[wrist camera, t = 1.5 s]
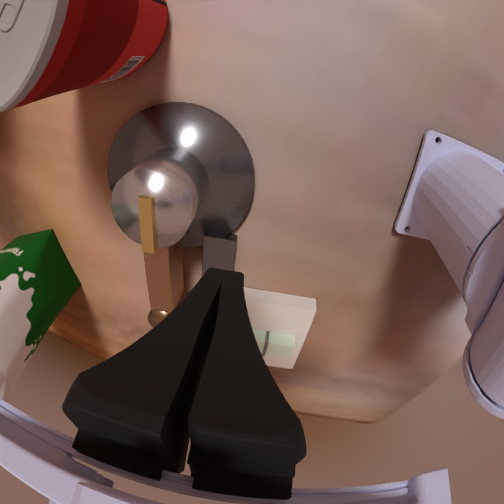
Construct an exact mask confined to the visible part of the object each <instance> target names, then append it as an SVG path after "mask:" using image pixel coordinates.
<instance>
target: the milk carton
mask: <svg viewBox="0 0 504 504" xmlns="http://www.w3.org/2000/svg"><path fill="white" fill-rule="evenodd" d="M80 286H81V284H80V282H79V280H78V279H77V277H76V275H75V273H74V271H73V270H72V268H71V266H70V264H69V262H68V260H67V258H66V256H65V254H64V252H63V250H62V248H61V246H60V244H59V242H58V240H57V238H56V236H55V234H54V232H53V230H52V229H50V230H46V231H41V232H37V233H32V234H28V235H23V236H19V237H17V238H16V239H14V240H13V241H12V242H11V243H9V244H8V245H7V246H6V247H4V248H3V249H2V250H1V251H0V398H1V399H3V400H4V401H6V402H7V403H8V401H9V398H10V395H11V392H12V389H13V387H14V385H15V383H16V381H17V380H18V378H19V376H20V374H21V373H22V371H23V369H24V367H25V366H26V364H27V362H28V361H29V359H30V357H31V356H32V354H33V352H34V351H35V349H36V347H37V346H38V344H39V343H40V341H41V339H42V338H43V336H44V335H45V333H46V332H47V330H48V329H49V327H50V326H51V324H52V323H53V321H54V320H55V318H56V317H57V316H58V314H59V313H60V312H61V310H62V309H63V308H64V306H65V305H66V304H67V302H68V301H69V300H70V298H71V297H72V296H73V294H74V293H75V292H76V291H77V289H78V288H79V287H80Z"/></svg>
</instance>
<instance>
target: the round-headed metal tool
mask: <svg viewBox="0 0 504 504" xmlns="http://www.w3.org/2000/svg"><path fill="white" fill-rule="evenodd" d="M208 189H209V180H208V175H207V172H206V170H205V168H204V166H203V164H202V163H201V162H200V161H199V159H198V158H197V157H195V156H194V155H193V154H191V153H190V152H188V151H186V150H183V149H180V148H171V147H170V148H164V149H160V150H158V151H156V152H155V153H153V154H152V155H150V156H149V157H148V158H146V159H145V160H144V161H142V162H141V163H140V164H138V165H137V166H136V167H134V168H133V169H132V170H130V171H129V172H128V173H127V174H125V175H124V176H123V177H122V178H121V179H120V180H119V181H118V182H117V183H116V185H115V187H114V189H113V192H112V196H111V207H112V212H113V216H114V218H115V220H116V222H117V224H118V226H119V227H120V228H121V230H122V231H123V232H124V233H125V234H126V235H127V236H128V237H129V238H131V239H132V240H134V241H135V242H137V243H139V244H141V245H142V251H143V252H144V261H145V270H146V277H147V285H148V292H149V299H150V306H151V311H150V313H149V315H148V321H149V323H150V325H151V326H152V327H153V328H154V327H155V326H156V325H158V324H159V323H160V322H161V321H162V320H163V319H164V318H165V317H166V316H167V315H168V314H169V313H170V312H171V311H172V310H173V309H174V308H175V307H176V306H178V305H179V303H180V302H181V301H182V300H183V299H184V298H185V297H186V296H187V295H188V294H187V293H186V291H185V290H184V283H183V236H184V235H185V233H186V231H187V229H188V228H189V226H190V224H191V222H192V221H193V219H194V217H195V216H196V214H197V212H198V210H199V209H200V207H201V205H202V204H203V202H204V200H205V199H206V196H207V193H208Z"/></svg>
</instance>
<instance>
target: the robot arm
mask: <svg viewBox="0 0 504 504" xmlns="http://www.w3.org/2000/svg"><path fill="white" fill-rule="evenodd" d="M437 137H439V141H438V142H437V143H436V142H435V139H436V138H437ZM503 170H504V163H503V162H501V161H500V160H498V159H496V158H494V157H492V156H490V155H488V154H486V153H484V152H482V151H480V150H477V149H475V148H473V147H471V146H469V145H467V144H464V143H462V142H460V141H458V140H455V139H453V138H450V137H448V136H446V135H443V134H441V133H438V132H436V131H433V130H428V131H427V132H426V133H425V135H424V138H423V142H422V145H421V149H420V152H419V155H418V159H417V162H416V165H415V168H414V171H413V174H412V178H411V181H410V184H409V186H408V189H407V192H406V195H405V198H404V201H403V204H402V206H401V209H400V212H399V214H398V217H397V220H396V222H395V226H394V227H395V230H396V231H397V233H400V234H404V235H409V236H413V237H417V238H422V239H426V240H430V241H431V243H432V244H433V246H434V248H435V249H436V251H437V253H438V254H439V256H440V258H441V259H442V261H443V263H444V264H445V266H446V268H447V270H448V271H449V273H450V275H451V277H452V279H453V280H454V282H455V284H456V286H457V288H458V290H459V292H460V293H461V295H462V297H463V299H464V301H465V303H466V305H467V315H466V318H465V321H466V324H467V326H468V328H469V330H470V333H471V335H472V336H471V338H470V339H469V341H468V343H467V345H466V347H465V350H464V354H463V362H462V364H463V373H464V378H465V381H466V384H467V386H468V388H469V390H470V392H471V394H472V396H473V397H474V398H475V400H476V401H477V402H478V403H479V404H480V406H481V407H482V408H484V409H485V410H486V411H488V412H489V413H490V414H492V415H494V416H496V417H499V418H502V419H504V172H503ZM407 226H409V228H408V229H406V230H404V229H405V227H407ZM62 409H63V411H64V413H65V414H66V416H67V417H68V418H69V419H70V420H71V421H72V422H73V423H74V424H75V425H76V427H77V428H78V432H77V434H76V437H75V439H74V438H72V437H70V436H68V435H66V434H63V433H61V432H59V431H57V430H55V429H53V428H51V427H49V426H47V425H45V424H43V423H42V422H40V421H38V420H36V419H34V418H32V417H31V416H29V415H27V414H25V413H23V412H22V411H20V410H19V409H17V408H15V407H13V406H12V405H10V404H9V403H7V402H6V401H4V400H3V399H1V398H0V465H1V466H3V467H4V468H5V469H6V470H8V471H9V472H10V473H12V474H13V475H14V476H16V477H17V478H18V479H20V480H21V481H23V482H24V483H26V484H27V485H29V486H30V487H32V488H33V489H35V490H36V491H38V492H39V493H41V494H43V495H44V496H46V497H47V498H49V499H50V500H49V504H162V503H158V502H155V501H151V500H148V499H144V498H141V497H138V496H134V495H131V494H128V493H125V492H122V491H119V490H117V489H114V488H112V487H113V484H114V483H113V482H112V481H111V480H109V479H107V478H105V477H103V476H102V475H100V474H98V473H97V472H96V471H95V470H93V469H91V468H89V467H87V466H85V465H83V464H81V463H79V462H77V461H75V460H74V459H73V458H72V457H74V458H76V459H79V460H80V461H83V462H85V463H87V464H90V465H92V466H95V467H97V468H99V469H102V470H105V471H107V472H110V473H112V474H115V475H118V476H121V477H124V478H127V479H130V480H133V481H136V482H139V483H142V484H146V485H149V486H153V487H156V488H160V489H164V490H168V491H171V492H176V493H180V494H184V495H189V496H195V497H200V498H205V499H210V500H216V501H223V502H230V503H238V504H239V503H240V504H451V494H450V486H449V478H448V470H447V468H443V469H439V470H435V471H430V472H425V473H422V474H419V475H416V476H414V477H412V478H410V479H409V480H405V481H399V482H392V483H386V484H379V485H369V486H360V487H346V488H321V489H297V488H292V478H293V477H294V476H295V465H296V464H297V463H298V462H300V461H301V460H302V459H303V458H304V457H305V456H306V442H305V436H304V432H303V428H302V424H301V421H300V419H299V418H298V417H297V415H296V414H295V412H294V411H293V410H292V408H291V407H290V405H289V404H288V402H287V401H286V399H285V398H284V396H283V394H282V393H281V391H280V390H279V388H278V386H277V384H276V383H275V381H274V379H273V377H272V375H271V373H270V371H269V369H268V367H267V365H266V363H265V361H264V359H263V356H262V354H261V352H260V349H259V347H258V344H257V341H256V339H255V336H254V333H253V329H252V326H251V323H250V319H249V315H248V311H247V306H246V301H245V294H244V275H243V274H242V273H241V272H235V271H229V270H223V269H218V268H212V267H210V268H208V269H207V270H206V272H205V273H204V275H203V276H202V277H201V279H200V280H199V281H198V283H197V284H196V285H195V286H194V288H193V289H192V290H191V291H190V292H189V293H188V295H187V296H186V297H185V298H184V299H183V300H182V301H181V302H180V303H179V305H178V306H176V307H175V308H174V309H173V310H172V311H171V312H170V313H169V314H168V315H167V316H166V317H165V318H164V319H163V320H162V321H161V322H160V323H159V324H158V325H156V326H155V327H154V328H153V329H152V330H150V331H149V332H148V333H147V334H145V335H144V336H143V337H141V338H140V339H139V340H137V341H136V342H134V343H133V344H132V345H130V346H129V347H127V348H126V349H124V350H122V351H121V352H119V353H117V354H116V355H114V356H112V357H111V358H109V359H107V360H106V361H104V362H102V363H100V364H98V365H96V366H94V367H92V368H90V369H87V370H85V371H83V372H81V373H79V375H78V377H77V378H76V380H75V381H74V383H73V384H72V386H71V388H70V390H69V392H68V394H67V396H66V399H65V401H64V403H63V405H62ZM189 438H190V441H191V446H190V452H189V456H188V460H187V464H189V466H190V470H191V476H187V475H183V474H179V473H181V472H182V471H184V467H185V461H186V455H187V449H188V443H189ZM71 456H72V457H71Z"/></svg>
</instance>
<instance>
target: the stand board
mask: <svg viewBox="0 0 504 504" xmlns="http://www.w3.org/2000/svg"><path fill="white" fill-rule="evenodd" d="M244 294H245V301H246V306H247V311H248V315H249V319H250V323H251V326H252V329H253V333H254V336H255V339H256V341H257V344H258V347H259V349H260V352H261V354H262V356H263V359H264V361H265V363H266V365H267V366H273V367H281V368H288V369H293V367H294V364H295V362H296V360H297V357H298V355H299V353H300V350H301V348H302V345H303V343H304V341H305V338H306V336H307V333H308V331H309V328H310V326H311V323H312V321H313V318H314V316H315V313H316V299H314V298H308V297H301V296H295V295H289V294H282V293H276V292H270V291H264V290H258V289H252V288H247V287H244Z"/></svg>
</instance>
